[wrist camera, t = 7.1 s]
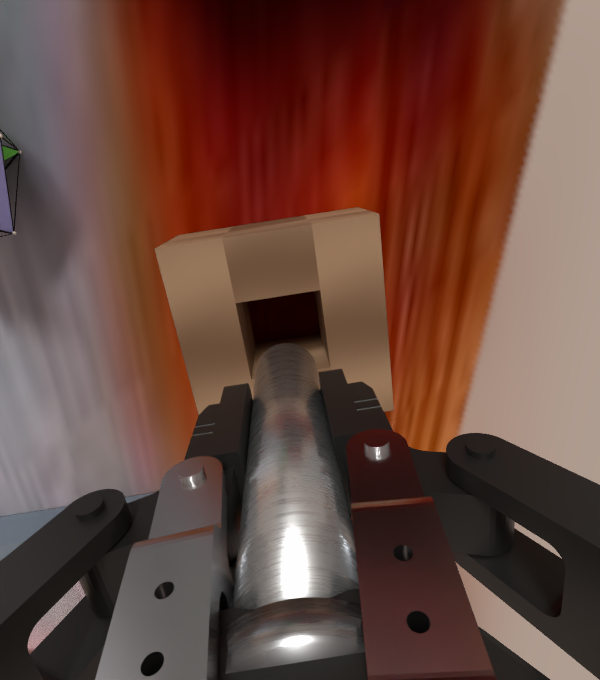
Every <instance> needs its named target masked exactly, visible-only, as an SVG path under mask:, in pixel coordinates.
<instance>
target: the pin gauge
mask: <svg viewBox="0 0 600 680" xmlns="http://www.w3.org/2000/svg"><path fill="white" fill-rule="evenodd" d="M353 589H359V581H358V571H357V561H356V550H355V540H354V529H353V523H352V519H351V515H350V510H349V506H348V501H347V497H346V493H345V488H344V484H343V480H342V475H341V472H340V470H339V468H338V466H337V461H336V457H335V452H334V448H333V443H332V439H331V434H330V430H329V425H328V421H327V416H326V412H325V407H324V403H323V398H322V394H321V389H320V382H319V375H318V371H317V366H316V363H315V360H314V358H313V356H312V355H311V354H310V353H309V352H308V351H307V350H306V349H305V348H303V347H301V346H299V345H296V344H291V343H282V344H277V345H275V346H272V347H270V348H269V349H267V350H266V351H265V352H264V353H263V354H262V355H261V357H260V358H259V360H258V362H257V365H256V373H255V382H254V392H253V404H252V414H251V424H250V434H249V444H248V454H247V464H246V474H245V483H244V492H243V502H242V512H241V521H240V531H239V541H238V551H237V561H236V571H235V581H234V591H233V602H232V608H239V609H249V610H252V611H250V612H248V613H246V614H245V615H243V616H241V617H239V618H238V619H236V620H235V621H234V622H232V623H231V624H229V625H228V626H227V627H226V628H225V629H224V630H223V634H222V636H225V635H226V638H227V644H228V653H227V663H226V673H225V674H228V673H234V672H241V671H247V670H253V669H260V668H266V667H272V666H279V665H285V664H292V663H298V662H304V661H311V660H317V659H323V658H330V657H336V656H342V655H349V654H355V653H362V652H365V647H364V642H363V637H362V632H361V617H362V612H361V606H360V605H358V604H354V603H351V602H348V601H344V600H338V599H333V598H331V597H333V596H336V595H338V594H340V593H343V592H345V591H348V590H353Z"/></svg>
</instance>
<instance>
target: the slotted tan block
mask: <svg viewBox="0 0 600 680" xmlns="http://www.w3.org/2000/svg"><path fill="white" fill-rule="evenodd" d="M155 252H156V256H157V260H158V264H159V267H160V271H161V275H162V279H163V283H164V286H165V290H166V294H167V298H168V301H169V305H170V309H171V313H172V316H173V320H174V324H175V328H176V332H177V335H178V339H179V343H180V347H181V350H182V354H183V358H184V362H185V365H186V369H187V373H188V377H189V380H190V384H191V388H192V392H193V396H194V399H195V403H196V407H197V411H198V414H200V413H201V412H202V411H203V410H204V409H205V408H206V407H207V406H208V405H213V404H219V403H220V400H221V396H222V392H223V388H224V387H225V386H232V385H238V384H245V383H248V384H249V386H250V390H251V394H252V399H253V392H254V382H255V373H256V365H257V362H258V360H259V358H260V357H261V355H262V354H263V353H264V352H265V351H266V350H267V349H269V348H270V347H272V346H275V345H277V344H282V343H291V344H296V345H299V346H301V347H303V348H305V349H306V350H307V351H308V352H309V353H310V354H311V355H312V356H313V358H314V360H315V363H316V366H317V371H318V372H323V371H329V370H335V369H342V370H343V373H344V375H345V378H346V381H347V384H348V383H355V382H361V381H362V382H364V383H365V384H367V385H368V386H370V387H371V388H373V390H374V392H375V395H376V397H377V399H378V401H379V403H380V405H381V407H382V409H383V411H384V412H385V411H391V410H394V407H393V394H392V381H391V367H390V354H389V341H388V327H387V314H386V301H385V287H384V274H383V261H382V247H381V234H380V221H379V214H378V213H375V212H372V211H368V210H365V209H362V208H359V207H356V208H350V209H343V210H337V211H331V212H324V213H318V214H311V215H305V216H298V217H292V218H286V219H279V220H273V221H266V222H260V223H253V224H247V225H241V226H234V227H228V228H221V229H215V230H208V231H202V232H196V233H189V234H183V235H178V236H176V237H174V238H173V239H171V240H169V241H167V242H166V243H164V244H162V245H160V246H159V247H157V248H155ZM311 291H314V292H315V299H316V306H317V314H318V321H319V328H320V334H315V335H309V336H302V337H296V338H289V339H283V340H277V341H270V342H264V343H257V344H255V339H254V334H253V329H252V324H251V319H250V314H249V309H248V304H247V301H253V300H260V299H266V298H273V297H279V296H286V295H292V294H298V293H305V292H311ZM318 375H319V374H318Z"/></svg>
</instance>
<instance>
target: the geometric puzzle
mask: <svg viewBox="0 0 600 680" xmlns="http://www.w3.org/2000/svg"><path fill="white" fill-rule="evenodd" d="M0 131H1V130H0ZM1 132H2V131H1ZM2 133H3V132H2ZM3 134H4V133H3ZM4 135H5V134H4ZM5 136H6V135H5ZM6 137H7V136H6ZM1 138H3V135H2V134H1V133H0V232H4V233H10V234H13V235H16V231H14V229H15V217H14V227H13V220H12V213H11V206H10V199H9V191H8V184H7V177H6V169H7V168H8V167H9V166H10V164H11V163H12V162H13V161H14V160H15V158H16V157H17V156H18V155H19V161H20V154H21V153H22V151H21V150H18V148H17V147H16V146H15V145H14V144H13V143H12V142H11V141H10V140H9V139H8V137H7V139H8V140H9V141H10V142H11V143H12V144H13V145H14V146H15V147H14V146H13V145H12V144H11V143H9V142H8V141H7V140H6V139H4V138H3V139H4V140H5V141H7V142H8V143H9V144H10V145H12V146H13V147H14V148H15V149H13V148H10V147H7V146H4V145H2V141H1ZM16 149H17V150H16ZM15 154H16V155H15ZM13 155H15V156H14V157H13V158H12V159H11V161H10V162H9V163H8V164H7V165H6V167H5V163H4V160H6V159H8V158H10V157H11V156H13ZM18 175H19V163H18ZM17 188H18V177H17ZM16 202H17V190H16ZM15 216H16V204H15ZM2 230H3V231H2ZM10 234H8V235H10ZM4 236H6V235H4ZM0 237H2V236H0Z"/></svg>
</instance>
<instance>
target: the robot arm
mask: <svg viewBox="0 0 600 680" xmlns="http://www.w3.org/2000/svg"><path fill="white" fill-rule="evenodd" d="M318 374H319V382H320V389H321V394H322V398H323V403H324V407H325V412H326V416H327V421H328V425H329V430H330V434H331V439H332V443H333V448H334V452H335V457H336V461H337V466H338V468H339V470H340V472H341V475H342V480H343V484H344V488H345V493H346V497H347V501H348V506H349V510H350V515H351V516H352V519H353V529H354V540H355V550H356V561H357V571H358V581H359V589H353V590H348V591H345V592H343V593H340V594H338V595H336V596H333V597H331V598H333V599H338V600H344V601H348V602H351V603H354V604H358V605H360V606H361V612H362V617H361V632H362V637H363V642H364V647H365V652H362V653H355V654H349V655H342V656H336V657H330V658H323V659H317V660H311V661H304V662H298V663H292V664H285V665H279V666H272V667H266V668H260V669H253V670H247V671H241V672H234V673H228V674H225V673H226V663H227V653H228V644H227V638H226V635H225V636H222V634H223V630H224V629H225V628H226V627H227V626H228V625H229V624H231V623H232V622H234V621H235V620H236V619H238V618H239V617H241V616H243V615H245V614H246V613H248V612H250V611H252V610H249V609H239V608H232V602H233V591H234V581H235V571H236V561H237V551H238V541H239V531H240V521H241V512H242V502H243V492H244V483H245V474H246V464H247V454H248V444H249V434H250V424H251V414H252V404H253V399H252V394H251V390H250V386H249V384H248V383H245V384H238V385H232V386H225V387H224V388H223V392H222V396H221V400H220V403H219V404H213V405H208V406H207V407H206V408H205V409H204V410H203V411H202V412H201V413H200V414H199V416H198V419H197V422H196V425H195V426H196V427H195V428H194V431H193V436H192V438H191V441H190V444H189V447H188V450H187V453H186V456H185V459H184V461H182V462H180V463H178V464H176V465H175V466H173V467H172V468H171V469H170V470H169V471H168V472H167V473H166V474H165V475H164V477H163V479H162V482H161V487H160V490H159V491H157V492H155V493H153V494H151V495H148V496H145V497H143V498H140V499H137V500H135V501H132V502H129V503H127V502H126V500H125V497H124V495H123V493H122V492H120V491H118V490H115V489H103V490H98V491H95V492H92V493H89V494H87V495H85V496H83V497H81V498H79V499H77V500H76V501H74V502H73V503H71V504H70V505H69V506H68V507H66V508H65V509H64V510H63V511H61V512H60V513H59V514H58V515H56V516H55V517H54V518H53V519H52V520H50V521H49V522H48V523H47V524H45V525H44V526H43V527H42V528H40V529H39V530H38V531H37V532H35V533H34V534H33V535H32V536H31V537H29V538H28V539H27V540H26V541H24V542H23V543H22V544H21V545H19V546H18V547H17V548H16V549H15V550H13V551H12V552H11V553H10V554H8V555H7V556H6V557H5V558H3V559H2V560H1V561H0V680H550V679H549V678H547V677H546V676H545V675H543V674H542V673H541V672H539V671H538V670H537V669H535V668H534V667H533V666H531V665H530V664H529V663H527V662H526V661H525V660H523V659H522V658H520V657H519V656H518V655H516V654H515V653H514V652H512V651H511V650H510V649H508V648H507V647H506V646H504V645H503V644H502V643H500V642H499V641H498V640H496V639H495V638H494V637H492V636H491V635H490V634H488V633H487V632H486V631H484V630H483V629H481V628H480V627H478V625H477V622H476V619H475V616H474V614H473V611H472V608H471V605H470V602H469V599H468V597H467V594H466V591H465V588H464V585H463V582H462V579H461V577H460V574H459V571H458V568H457V565H456V562H457V563H458V564H459V565H460V566H461V567H462V568H464V569H465V570H466V571H467V572H469V574H471V575H472V576H473V577H474V578H476V579H477V580H478V581H479V582H481V583H482V584H483V585H484V586H485V587H487V588H488V589H489V590H490V591H492V592H493V593H494V594H495V595H496V596H498V597H499V598H500V599H501V600H503V601H504V602H505V603H506V604H508V605H509V606H510V607H511V608H512V609H514V610H515V611H516V612H517V613H519V614H520V615H521V616H522V617H524V618H525V619H526V620H527V621H528V622H530V623H531V624H532V625H533V626H534V627H536V628H537V629H538V630H539V631H541V632H542V633H543V634H544V635H545V636H547V637H548V638H549V639H550V640H552V641H553V642H554V643H555V644H556V645H558V646H559V647H560V648H561V649H563V650H564V651H565V652H566V653H567V654H569V655H570V656H571V657H573V658H574V659H575V660H576V661H577V662H579V663H580V664H581V665H582V666H583V667H585V668H586V669H587V670H588V671H590V672H591V673H592V674H593V675H594V676H596V677H597V678H598V679H599V680H600V485H598V484H597V483H595V482H592V481H590V480H588V479H586V478H584V477H582V476H580V475H577V474H575V473H573V472H571V471H569V470H567V469H565V468H562V467H561V466H558V465H556V464H554V463H552V462H550V461H548V460H546V459H544V458H541V457H539V456H537V455H535V454H533V453H531V452H529V451H527V450H524V449H522V448H520V447H518V446H516V445H514V444H512V443H510V442H507V441H505V440H503V439H501V438H499V437H496V436H493V435H489V434H482V433H469V434H463V435H460V436H457V437H455V438H453V439H452V440H451V441H450V442H449V443H448V445H447V448H446V452H429V451H421V450H417V449H413V448H411V447H408V444H407V442H406V440H405V439H404V437H402V436H401V435H400V434H398V433H396V432H393V430H392V428H391V426H390V424H389V422H388V420H387V418H386V415H385V413H384V411H383V409H382V407H381V405H380V403H379V401H378V399H377V397H376V395H375V392H374V390H373V388H371V387H370V386H368V385H367V384H365V383H364V382H362V381H361V382H355V383H348V384H347V381H346V378H345V375H344V373H343V370H342V369H335V370H329V371H323V372H318ZM514 522H516V523H518V524H520V525H521V526H523V527H524V528H526V529H527V530H529V531H531V532H532V533H534V534H536V535H537V536H539V537H540V538H542V539H544V540H545V541H547V542H548V543H550V545H552V546H553V547H554V548H555V549H556V550H557V552H558V553H559V554H560V556H561V557H562V559H561V558H560V557H558V556H556V555H555V554H553V553H552V552H550V551H549V550H547V549H546V548H544V547H543V546H541V545H539V544H538V543H536V542H535V541H533V540H532V539H530V538H529V537H527V536H525V535H524V534H522V533H521V532H519V531H517V530H516V529H515V528H514ZM455 561H456V562H455ZM78 581H80V583H81V586H82V588H83V590H84V592H85V594H86V596H85V597H84V598H83V599H82V600H81V601H80V602H79V603H78V604H77V605H76V606H75V607H74V608H73V610H72V611H71V612H70V613H69V614H68V615H67V616H66V617H65V618H64V619H63V620H62V621H61V622H60V623H59V624H58V625H57V626H56V627H55V629H54V630H53V631H52V632H51V633H50V634H49V635H48V636H47V637H46V638H45V639H44V640H43V641H42V642H41V643H40V644H39V645H38V646H37V647H36V649H35V650H34V651H33V652H32V653H31V654H29V652H28V648H27V645H28V639H29V636H30V634H31V632H32V630H33V628H34V626H35V625H36V624H37V622H38V621H39V620H40V619H41V618H42V617H43V616H44V615H45V614H46V613H47V612H48V611H49V610H50V609H51V608H52V607H53V606H54V605H55V604H56V603H57V602H58V601H59V600H60V599H61V598H62V597H63V596H64V595H65V594H66V593H67V592H68V591H69V590H70V589H71V588H72V587H73V586H74V585H75V584H76V583H77V582H78Z"/></svg>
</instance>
